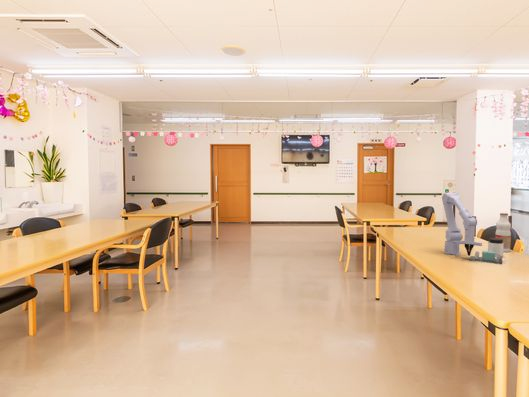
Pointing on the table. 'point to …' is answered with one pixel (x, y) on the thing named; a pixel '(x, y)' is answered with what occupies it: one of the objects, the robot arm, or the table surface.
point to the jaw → (476, 255)
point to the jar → (496, 246)
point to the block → (488, 255)
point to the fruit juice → (504, 231)
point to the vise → (497, 261)
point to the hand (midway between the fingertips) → (468, 255)
